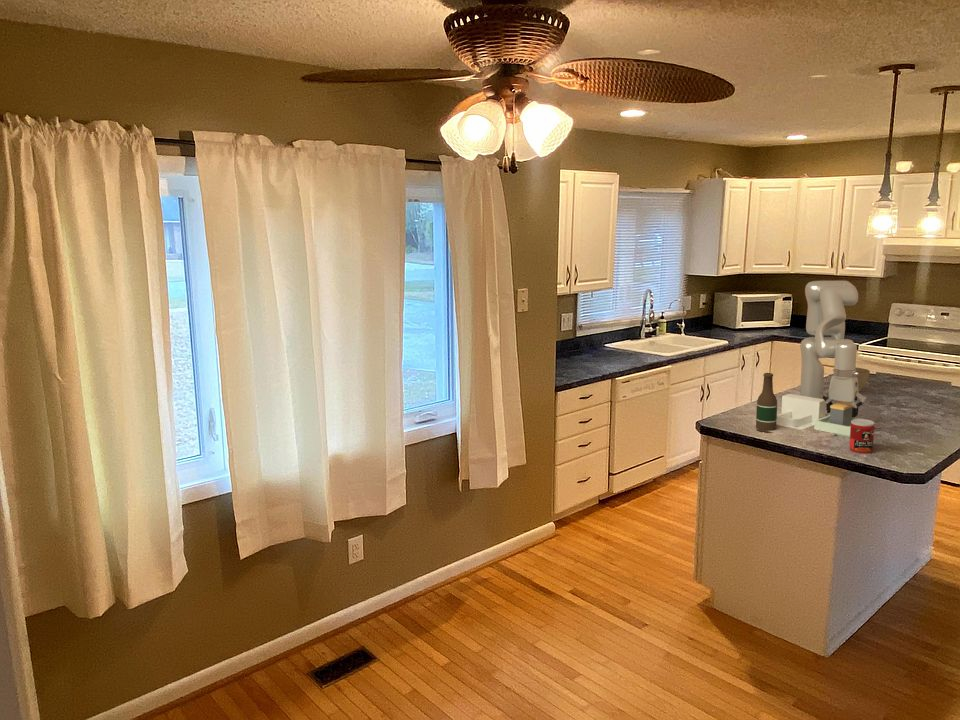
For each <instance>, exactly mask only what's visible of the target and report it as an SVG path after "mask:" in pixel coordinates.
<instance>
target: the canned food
mask: <svg viewBox="0 0 960 720" xmlns="http://www.w3.org/2000/svg"><path fill="white" fill-rule="evenodd" d="M875 426H876V425H875V422H874V421H873V420H871V419H866V418H860V419H853V420H851V428H850V439H849V447H848V448H849V449H850V451H851V452H853V453H857V454H871V453H872V452H873V451H874V450H873V449H874V441H875V440H874V438H875Z"/></svg>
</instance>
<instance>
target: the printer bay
mask: <svg viewBox="0 0 960 720" xmlns="http://www.w3.org/2000/svg"><path fill="white" fill-rule="evenodd" d="M781 397H782V399H781V413H777V421H776V426H780V427H781V426H782V427H786V428H791V429H796V430H800V431H801V430H805V429H807V428H810V427H812V426H813V427H814V422H815V420H818V419H820V418H823V417H826V413H827V410H826V406H827V403H826V402H825V400H824V399H823V398H822V399H819V398H812V397H806V396H800V394H794V393H793V394H792V393H788V394H784V395H782V396H781Z"/></svg>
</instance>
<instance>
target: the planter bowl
mask: <svg viewBox="0 0 960 720" xmlns="http://www.w3.org/2000/svg"><path fill="white" fill-rule="evenodd" d="M855 370H856V372H859V375H856V376H855V377H857V379H858V388H859V391H862V390H863V389H864V387H865V386H866V385H867V382H868V380H869V378H870V377H869V376H870V373H871V371H870V370H868V369H867V368H861V367H856V368H855ZM832 372H834V368H833V369H832Z"/></svg>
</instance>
